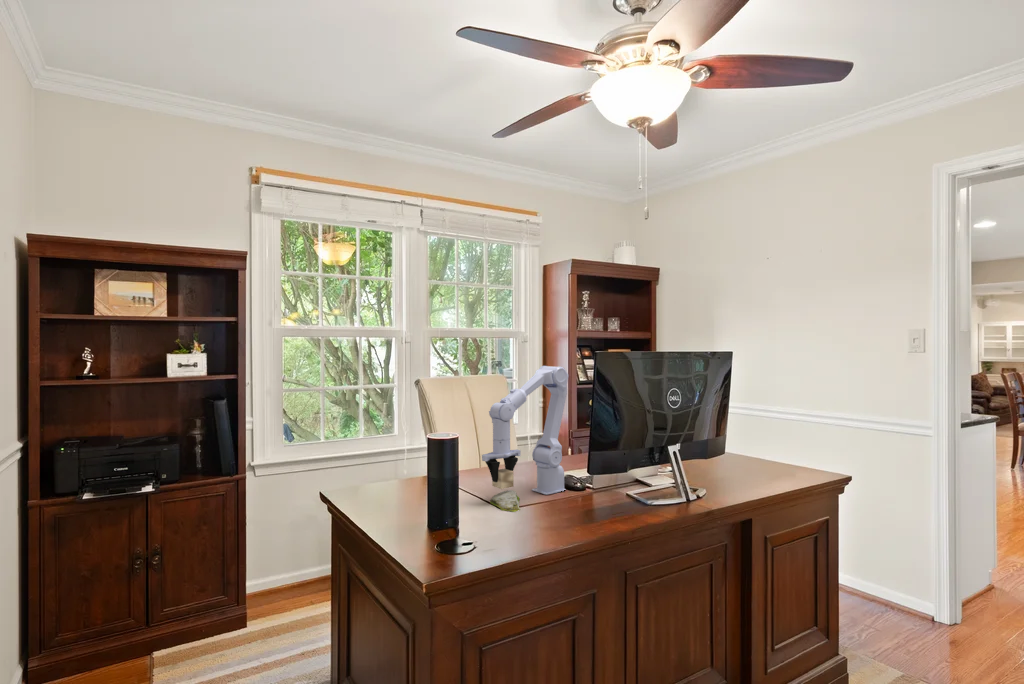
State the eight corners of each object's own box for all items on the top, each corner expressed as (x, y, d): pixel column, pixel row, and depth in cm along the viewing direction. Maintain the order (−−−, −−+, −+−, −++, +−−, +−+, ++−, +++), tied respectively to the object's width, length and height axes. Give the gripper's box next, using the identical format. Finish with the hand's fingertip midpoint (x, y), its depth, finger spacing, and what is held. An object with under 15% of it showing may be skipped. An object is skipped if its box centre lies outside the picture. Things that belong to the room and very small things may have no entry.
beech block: (504, 483, 189) (504, 468, 189) (513, 486, 185) (513, 471, 185) (492, 485, 186) (492, 470, 186) (501, 489, 182) (501, 473, 182)
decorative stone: (487, 495, 197) (487, 483, 197) (517, 494, 198) (516, 483, 198) (489, 513, 174) (488, 500, 174) (522, 512, 174) (522, 499, 175)
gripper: (490, 443, 179) (491, 486, 178) (526, 438, 187) (526, 479, 187) (478, 440, 184) (478, 481, 184) (513, 435, 193) (513, 475, 193)
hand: (501, 480), depth 186 cm, fingers closed on beech block, 5 cm apart
